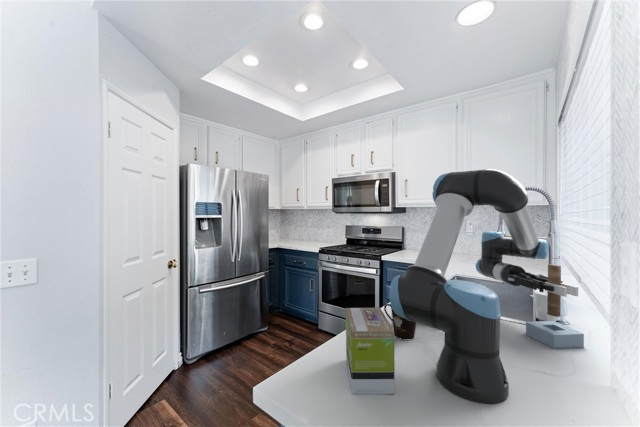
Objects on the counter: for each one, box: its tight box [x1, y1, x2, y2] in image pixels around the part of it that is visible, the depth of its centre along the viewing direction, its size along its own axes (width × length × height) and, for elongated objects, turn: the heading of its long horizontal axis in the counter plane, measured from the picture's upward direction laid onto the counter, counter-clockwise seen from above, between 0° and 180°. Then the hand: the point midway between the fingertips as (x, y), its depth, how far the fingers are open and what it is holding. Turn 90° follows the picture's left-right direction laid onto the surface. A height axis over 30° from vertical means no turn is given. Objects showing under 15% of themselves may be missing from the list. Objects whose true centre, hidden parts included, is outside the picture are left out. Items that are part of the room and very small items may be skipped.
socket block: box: [525, 320, 585, 349], centre depth 88 cm, size 10×10×4 cm
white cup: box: [533, 289, 559, 322], centre depth 105 cm, size 8×8×10 cm
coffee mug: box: [383, 303, 417, 340], centre depth 92 cm, size 12×9×10 cm
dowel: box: [547, 263, 562, 318], centre depth 88 cm, size 3×3×16 cm
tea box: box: [345, 307, 396, 395], centre depth 68 cm, size 15×10×15 cm
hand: (571, 291), depth 83 cm, fingers closed on dowel, 3 cm apart
